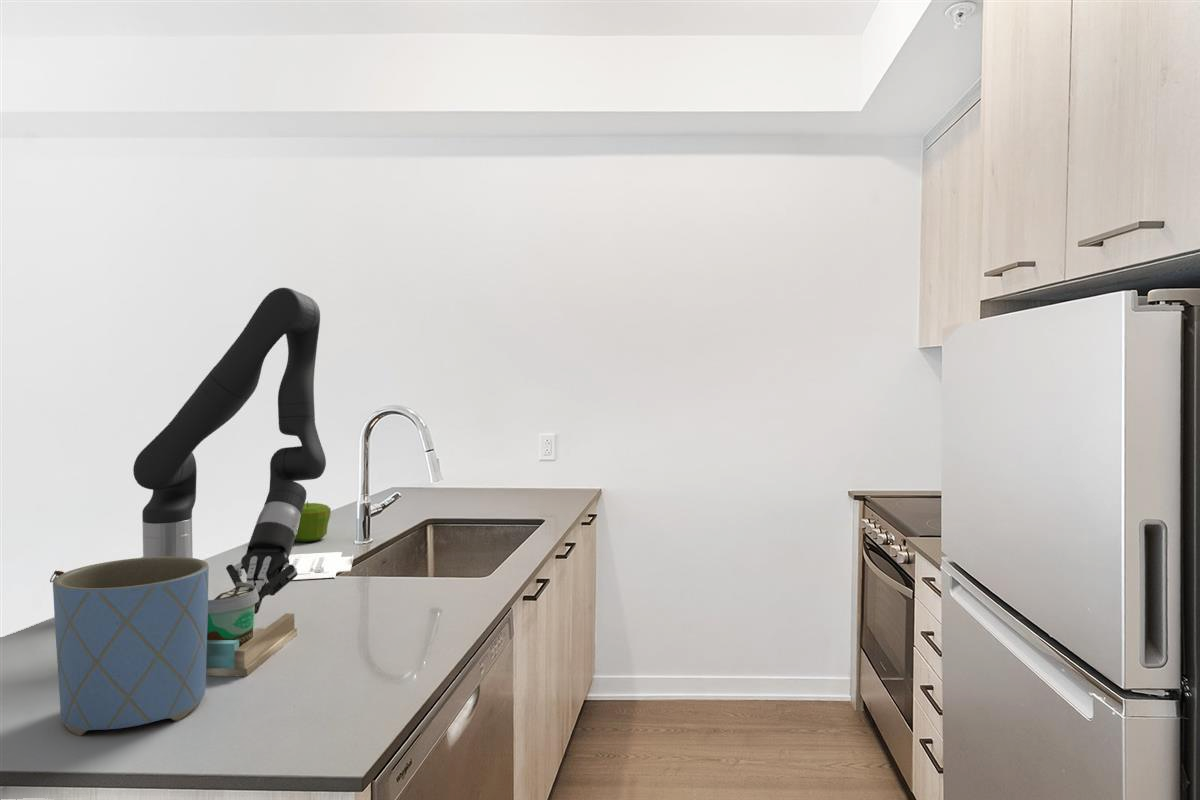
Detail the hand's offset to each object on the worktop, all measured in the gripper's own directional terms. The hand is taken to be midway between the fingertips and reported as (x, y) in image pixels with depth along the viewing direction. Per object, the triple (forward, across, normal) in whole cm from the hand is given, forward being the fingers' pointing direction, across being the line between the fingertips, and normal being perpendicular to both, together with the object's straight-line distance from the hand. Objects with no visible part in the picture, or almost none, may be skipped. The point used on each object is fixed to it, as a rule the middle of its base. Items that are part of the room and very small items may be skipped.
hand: (247, 614), depth 140 cm
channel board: (+6, 0, +2) cm, 7 cm away
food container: (+6, 0, 0) cm, 7 cm away
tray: (-37, -11, +47) cm, 61 cm away
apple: (-60, -24, +69) cm, 94 cm away
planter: (+23, -4, -14) cm, 27 cm away
